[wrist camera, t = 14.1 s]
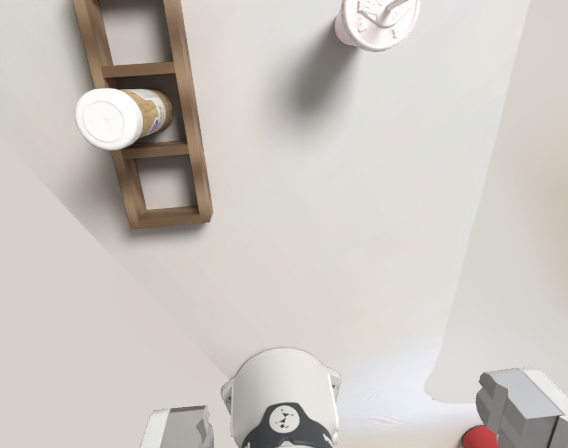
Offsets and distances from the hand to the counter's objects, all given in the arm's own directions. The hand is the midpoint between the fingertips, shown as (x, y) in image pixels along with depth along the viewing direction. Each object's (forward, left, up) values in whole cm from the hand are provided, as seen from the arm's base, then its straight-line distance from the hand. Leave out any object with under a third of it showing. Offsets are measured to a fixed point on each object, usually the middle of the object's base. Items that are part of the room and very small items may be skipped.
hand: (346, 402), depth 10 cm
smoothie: (+14, -9, -34) cm, 38 cm away
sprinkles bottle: (+7, +13, -34) cm, 37 cm away
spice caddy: (+7, +13, -34) cm, 37 cm away
